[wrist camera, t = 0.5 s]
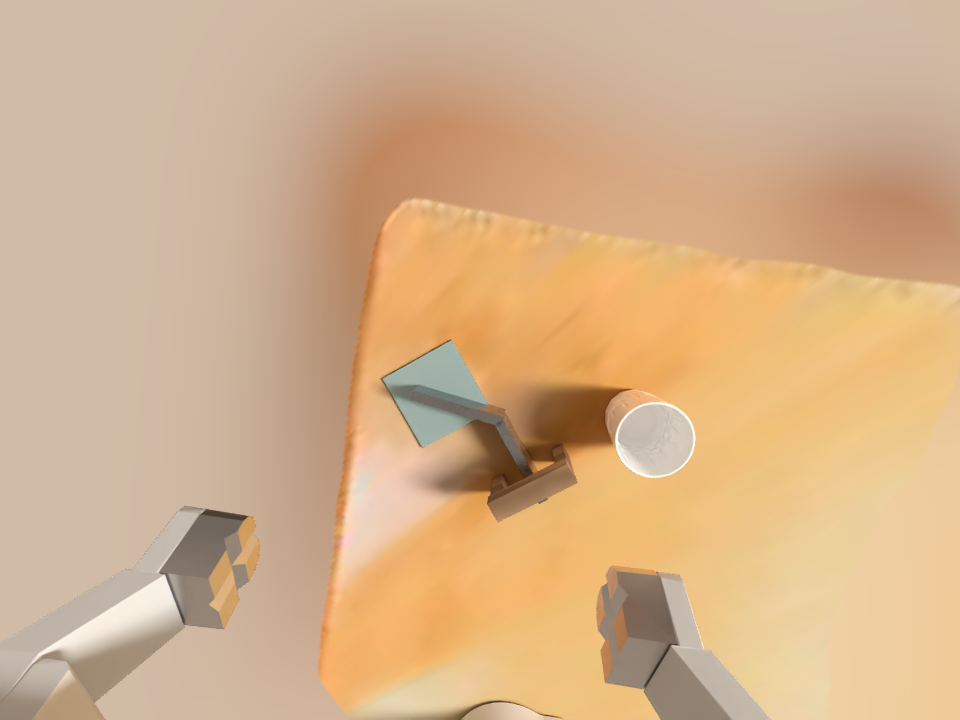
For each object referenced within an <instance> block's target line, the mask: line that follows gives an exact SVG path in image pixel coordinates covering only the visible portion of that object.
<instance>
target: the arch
mask: <svg viewBox="0 0 960 720" xmlns="http://www.w3.org/2000/svg"><path fill="white" fill-rule="evenodd" d="M552 451H553V456H554V461H555V463H554V464H552V465H550V466H548V467H546V468H544V469H542V470H540V471H538V472H536V473H534V474H532V475H530V476H528V477H526V478H524V479H522V480H520V481H518V482H516V483H514V484H512V485H510V486H509V485H508V483H507V481H506V480H505V478H504V476H503V474H502V475H500V476H498V477H496V478H494V479H493V481H492V488H491V494H490V496H488V502H487V504H488V506H489V508H490V510H491V511H492V513H493V515H494V517H495V518H496V520H497V522H499V521H501V520H503V519H506V518H508V517H510V516H512V515H514V514H516V513H518V512H520V511H522V510H524V509H526V508H528V507H530V506H532V505H534V504H536V503H538V502H540V501H542V500H544V499H546V498H548V497H550V496H552V495H554V494H556V493H558V492H560V491H562V490H564V489H566V488H568V487H570V486H572V485H574V484H577V480H576V476H575V474H574V472H573V468H572V465H571V461H570V458H569V455H568V454H567V452H566V450H565V448H564V446H563V445H562V444H561V445H559V446H557V447H555V448H554V449H552Z"/></svg>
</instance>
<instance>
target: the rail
mask: <svg viewBox="0 0 960 720" xmlns="http://www.w3.org/2000/svg"><path fill="white" fill-rule="evenodd" d="M410 400H411V401H415V402H418V403H421V404H425V405H428V406H432V407H435V408H438V409H442V410H445V411H448V412H452V413H455V414H459V415H462V416H465V417H469V418H472V419H475V420H479V421H482V422H486V423H489V424H492V425H495V427H496V429H497V431H498V432H499V434H500V436H501V438H502V439H503V441H504V443H505V445H506V447H507V448H508V450H509V452H510V454H511V455H512V457H513V459H514V461H515V462H516V464H517V466H518V468H519V470H520V471H521V473H522V475H523V477H524V478H526V477H528V476H530V475H532V474H534V473H536V472H538V471H537V469H536V467H535V465H534V463H533V462H532V460H531V458H530V456H529V455H528V453H527V451H526V449H525V447H524V446H523V444H522V442H521V440H520V439H519V437H518V435H517V433H516V431H515V430H514V428H513V426H512V424H511V423H510V421H509V419H508V417H507V415H506V414H505V412H504V411H505V409H502V408H498V407H495V406H492V405H486V404H483V403H480V402H476V401H473V400H469V399H466V398H463V397H459V396H456V395H452V394H449V393H446V392H442V391H439V390H435V389H432V388H429V387H425V386H422V385H418V386H417V387H416V388H415V389H414V390H412V394H411V398H410ZM546 500H548V498H546V499H544V500H542V501H540V502H538V503H539V504H540V503H542V502H544V501H546Z"/></svg>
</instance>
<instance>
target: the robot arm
mask: <svg viewBox="0 0 960 720" xmlns="http://www.w3.org/2000/svg"><path fill="white" fill-rule="evenodd" d="M255 527H256V524H255V520H254V517H253V516H246V515H240V514H234V513H228V512H221V511H215V510H209V509H202V508H196V507H188V506H184V507H183V508H181V509H180V510H179V511H178V512H176V514H175V515H174V516H173V517H172V519H171V520H170V522H169V523H168V524H167V525H166V527H165V528H164V529H163V531H162V532H161V533H160V534H159V536H158V537H157V538H156V540H155V541H154V542H153V544H152V545H151V546H150V547H149V549H148V550H147V551H146V553H145V554H144V555H143V557H142V558H141V559H140V561H139V562H138V563H137V565H136V566H135V567H134V568H133V569H125V570H123V571H121V572H120V573H118V574H116V575H114V576H113V577H111V578H109V579H108V580H106V581H104V582H103V583H101V584H99V585H98V586H96V587H94V588H93V589H91V590H89V591H87V592H86V593H84V594H82V595H80V596H79V597H77V598H75V599H74V600H72V601H70V602H69V603H67V604H65V605H63V606H62V607H60V608H58V609H57V610H55V611H53V612H51V613H50V614H48V615H46V616H45V617H43V618H41V619H39V620H38V621H36V622H34V623H33V624H31V625H29V626H28V627H26V628H24V629H23V630H21V631H19V632H17V633H16V634H14V635H12V636H11V637H9V638H7V639H6V640H4V641H2V642H0V720H105V718H104V717H103V715H102V714H101V712H100V711H99V709H98V708H97V706H96V705H95V702H96V701H97V700H98V699H100V698H101V697H102V696H103V695H104V694H106V693H107V692H108V691H109V690H110V689H112V688H113V687H114V686H115V685H116V684H117V683H119V682H120V681H121V680H122V679H123V678H125V677H126V676H127V675H128V674H130V673H131V672H132V671H133V670H134V669H136V668H137V667H138V666H139V665H140V664H142V663H143V662H144V661H145V660H146V659H147V658H149V657H150V656H151V655H152V654H153V653H155V652H156V651H157V650H158V649H159V648H161V647H162V646H163V645H164V644H165V643H167V641H169V640H170V639H171V638H173V637H174V636H175V635H176V634H177V633H179V632H180V631H181V630H182V629H183V628H184V627H185V626H184V625H189V626H199V627H209V628H216V629H224V628H225V626H226V624H227V622H228V621H229V619H230V617H231V615H232V613H233V611H234V609H235V607H236V605H237V604H238V602H239V596H238V591H237V590H238V589H239V588H241V587H242V586H243V585H245V584H246V583H248V582H249V581H250V579H251V577H252V575H253V573H254V571H255V568H256V565H257V562H258V558H259V551H260V544H259V539H258V538H257V537H256V536H255V535H254V534H253V530H254V529H255ZM606 577H607V584H605V585H604V586H602V587H601V589H600V592H599V594H598V600H597V608H596V609H597V625H598V631H599V632H600V633H601V635H602V636H603V637H604V639H605V642H604V644H603V647H602V649H601V657H602V664H603V671H604V679H605V683H610V684H615V685H621V686H627V687H633V688H639V689H645V690H644V693H645V695H646V696H647V698H648V699H649V701H650V703H651V704H652V706H653V708H654V709H655V711H656V712H657V714H658V716H659V717H660V719H661V720H771V719H770V718H769V716H768V715H767V714H766V713H765V712H764V711H763V710H762V708H761V707H760V706H759V705H758V704H757V703H756V701H755V700H754V699H753V698H752V697H751V696H750V695H749V693H748V692H747V691H746V690H745V689H744V688H743V687H742V685H741V684H740V683H739V682H738V681H737V680H736V679H735V677H734V676H733V675H732V674H731V673H730V672H729V670H728V669H727V668H726V667H725V666H724V665H723V664H722V662H721V661H720V660H719V659H718V658H717V657H716V656H715V654H714V653H713V652H712V651H711V650H705V649H704V647H703V644H702V640H701V637H700V634H699V631H698V627H697V624H696V621H695V618H694V614H693V611H692V608H691V605H690V602H689V598H688V595H687V592H686V589H685V585H684V582H683V579H682V578H681V577H680V575H677V574H671V573H662V572H655V571H653V570H645V569H636V568H628V567H620V566H611V567H610V568H609V569H608V572H607V574H606ZM461 720H562V719H560V718H556V717H550V716H542V715H540V714H537V713H535V712H534V711H532V710H530V709H528V708H526V707H523V706H520V705H517V704H513V703H504V702H498V703H490V704H485V705H482V706H480V707H477V708H475V709H473V710H472V711H470V712H469V713H468V714H466V715H465V716H464V717H463V718H462V719H461Z"/></svg>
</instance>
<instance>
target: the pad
mask: <svg viewBox="0 0 960 720" xmlns="http://www.w3.org/2000/svg"><path fill="white" fill-rule="evenodd" d="M383 381H384V382H385V384H386V386H387V388H388V389H389V391H390V393H391V394H392V396H393V398H394V400H395V401H396V403H397V405H398V407H399V408H400V410H401V412H402V413H403V415H404V417H405V419H406V420H407V422H408V424H409V426H410V427H411V429H412V431H413V432H414V434H415V436H416V438H417V439H418V441H419V443H420V445H421V446H422V448H423V447H425V446H427V445H428V444H430V443H432V442H434V441H436V440H438V439H440V438H442V437H444V436H445V435H447V434H449V433H451V432H453V431H455V430H457V429H459V428H461V427H462V426H464V425H466V424H468V423H470V422H472V421H474V420H475V419H472V418H469V417H465V416H462V415H459V414H455V413H452V412H448V411H445V410H442V409H438V408H435V407H432V406H428V405H425V404H421V403H418V402H415V401H411V400H410V398H411V394H412V390H414V389H415V388H416V387H417V386H418V385H422V386H425V387H429V388H432V389H435V390H439V391H442V392H446V393H449V394H452V395H456V396H459V397H463V398H466V399H469V400H473V401H476V402H480V403H483V404H486V405H488V403H487V401H486V399H485V398H484V396H483V394H482V392H481V390H480V389H479V387H478V385H477V383H476V382H475V380H474V378H473V376H472V374H471V373H470V371H469V369H468V367H467V366H466V364H465V362H464V360H463V358H462V357H461V355H460V353H459V351H458V350H457V348H456V346H455V344H454V343H453V341H452V340H451V341H449V342H447V343H446V344H444V345H442V346H440V347H438V348H437V349H435V350H433V351H431V352H429V353H428V354H426V355H424V356H422V357H420V358H419V359H417V360H415V361H413V362H412V363H410V364H408V365H406V366H404V367H403V368H401V369H399V370H397V371H395V372H394V373H392V374H390V375H388V376H387V377H385V378H383Z"/></svg>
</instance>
